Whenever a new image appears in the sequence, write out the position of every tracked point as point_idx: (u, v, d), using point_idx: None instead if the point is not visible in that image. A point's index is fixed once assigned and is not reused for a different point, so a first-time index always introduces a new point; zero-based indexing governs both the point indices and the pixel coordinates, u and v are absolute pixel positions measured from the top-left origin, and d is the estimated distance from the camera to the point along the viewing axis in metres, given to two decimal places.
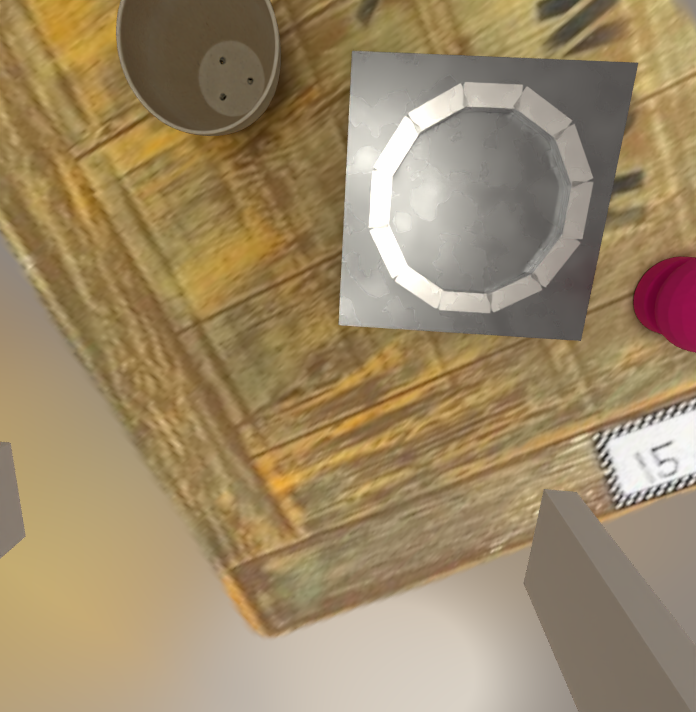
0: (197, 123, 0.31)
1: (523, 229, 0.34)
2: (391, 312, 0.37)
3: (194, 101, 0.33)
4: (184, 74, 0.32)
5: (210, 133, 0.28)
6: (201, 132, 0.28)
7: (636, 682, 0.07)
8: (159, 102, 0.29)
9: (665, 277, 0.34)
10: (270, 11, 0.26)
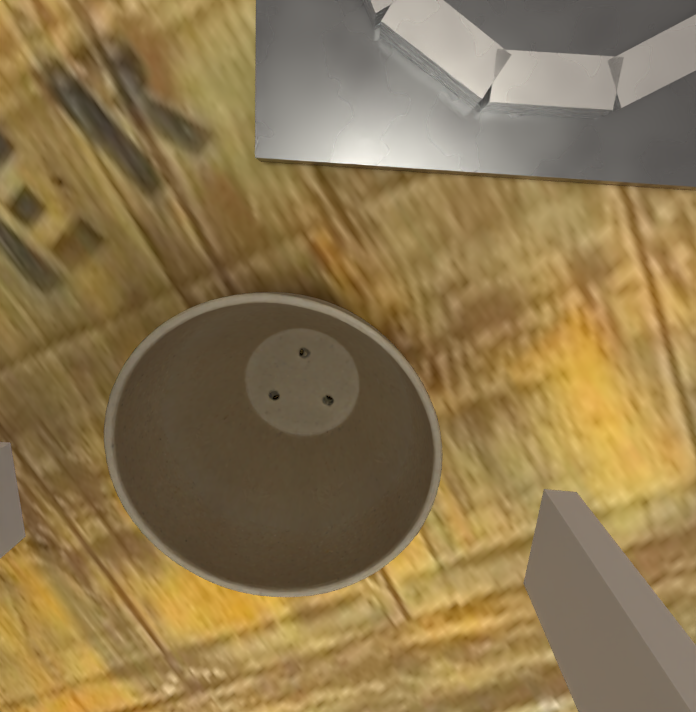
0: (386, 458, 0.17)
1: None
2: None
3: (339, 450, 0.19)
4: (298, 459, 0.19)
5: (440, 454, 0.13)
6: (438, 473, 0.13)
7: (636, 682, 0.07)
8: (359, 525, 0.16)
9: None
10: (208, 308, 0.12)
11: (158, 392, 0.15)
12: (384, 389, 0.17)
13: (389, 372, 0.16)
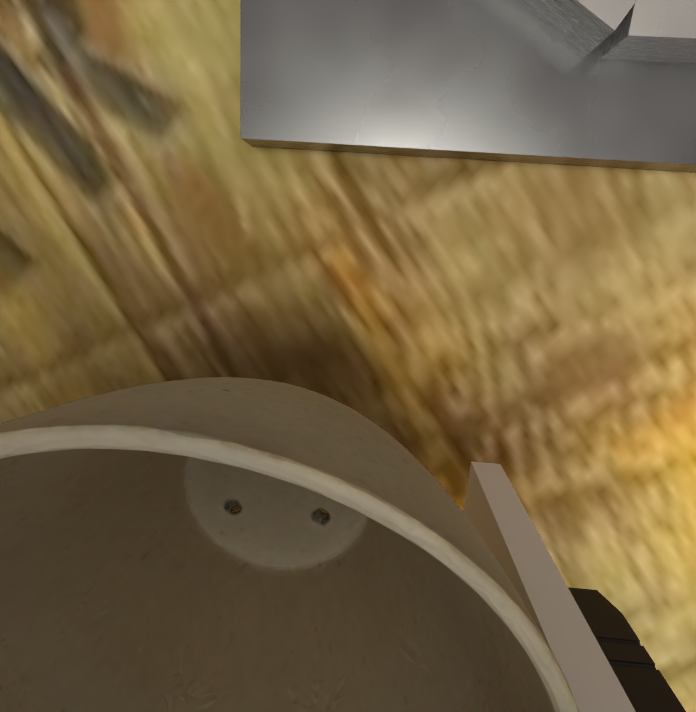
0: (423, 658, 0.09)
1: None
2: None
3: (339, 606, 0.11)
4: (271, 618, 0.12)
5: None
6: None
7: None
8: None
9: None
10: None
11: None
12: None
13: None
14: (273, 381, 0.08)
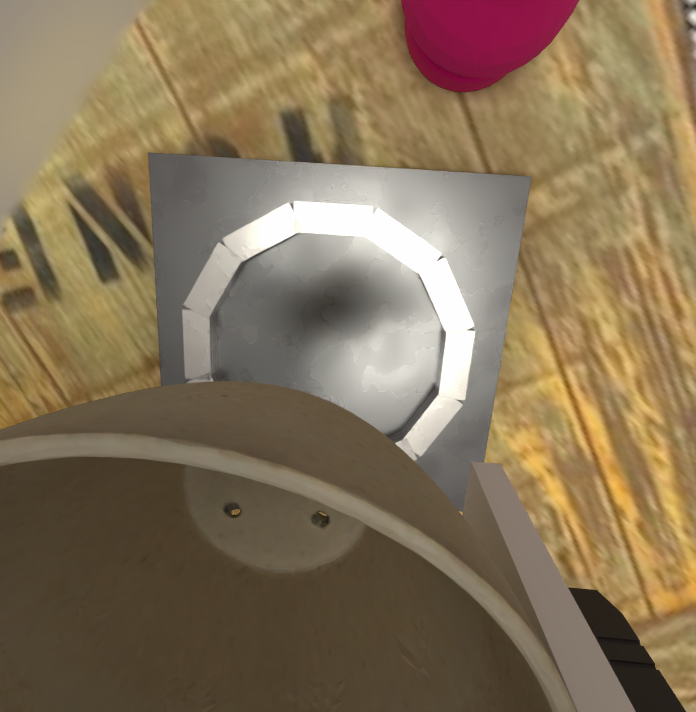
0: (423, 662, 0.09)
1: (358, 283, 0.25)
2: (463, 449, 0.27)
3: (338, 609, 0.11)
4: (270, 622, 0.11)
5: None
6: None
7: None
8: None
9: None
10: None
11: None
12: None
13: None
14: (272, 385, 0.08)
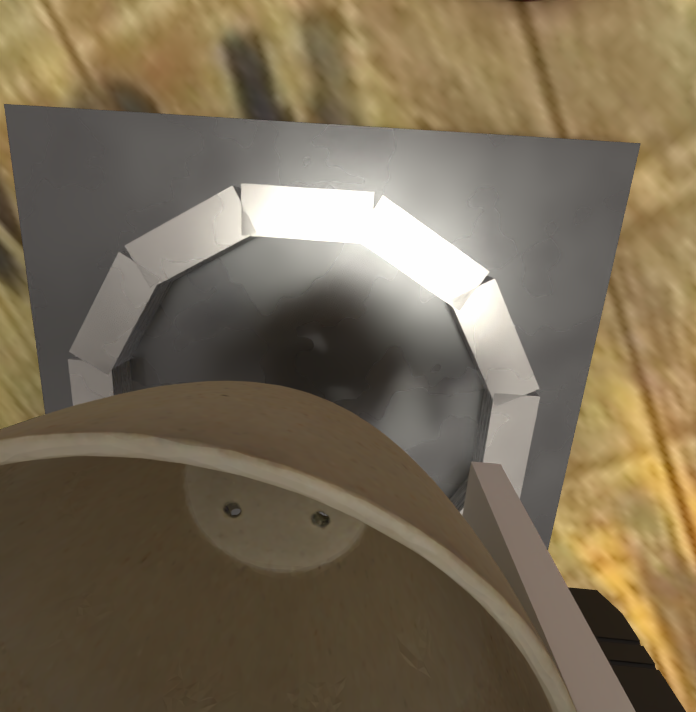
0: (423, 662, 0.09)
1: (350, 317, 0.15)
2: None
3: (338, 609, 0.11)
4: (270, 621, 0.12)
5: None
6: None
7: None
8: None
9: None
10: None
11: None
12: None
13: None
14: (272, 385, 0.08)
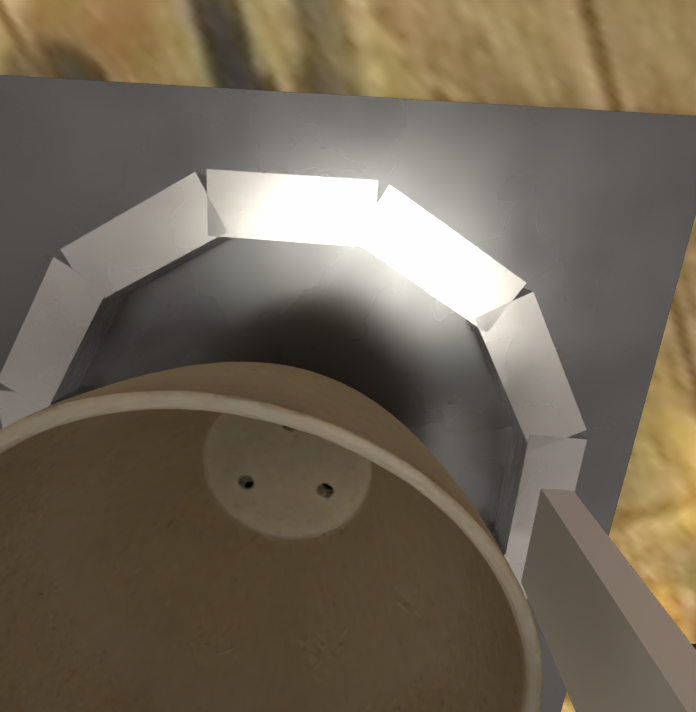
0: (416, 607, 0.10)
1: (348, 337, 0.12)
2: (540, 631, 0.15)
3: (341, 568, 0.13)
4: (281, 581, 0.13)
5: (538, 692, 0.06)
6: None
7: (631, 679, 0.07)
8: None
9: None
10: (60, 419, 0.06)
11: (29, 523, 0.09)
12: (412, 493, 0.11)
13: None
14: None
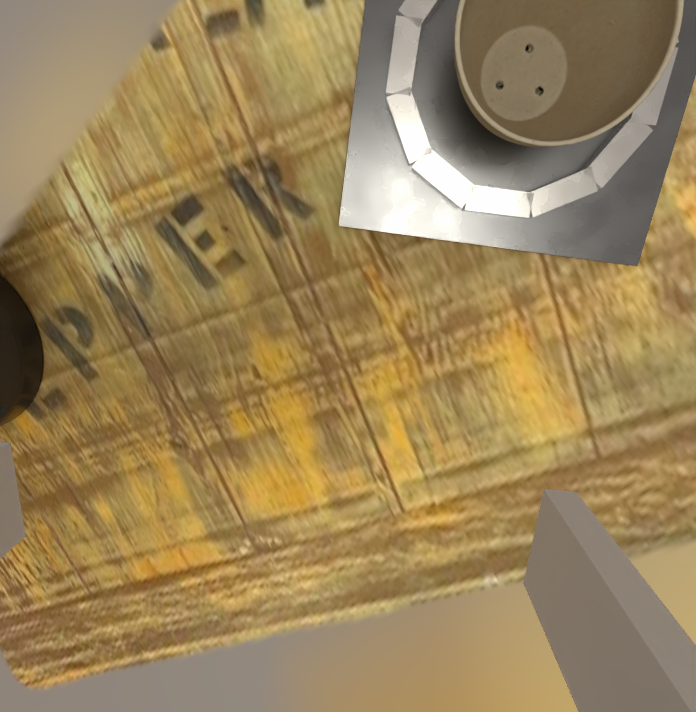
0: (602, 96, 0.24)
1: None
2: (636, 194, 0.28)
3: (549, 120, 0.26)
4: (517, 128, 0.26)
5: (680, 22, 0.20)
6: (676, 36, 0.20)
7: (636, 682, 0.07)
8: (588, 126, 0.23)
9: None
10: None
11: (469, 10, 0.22)
12: (600, 54, 0.24)
13: (616, 23, 0.23)
14: None
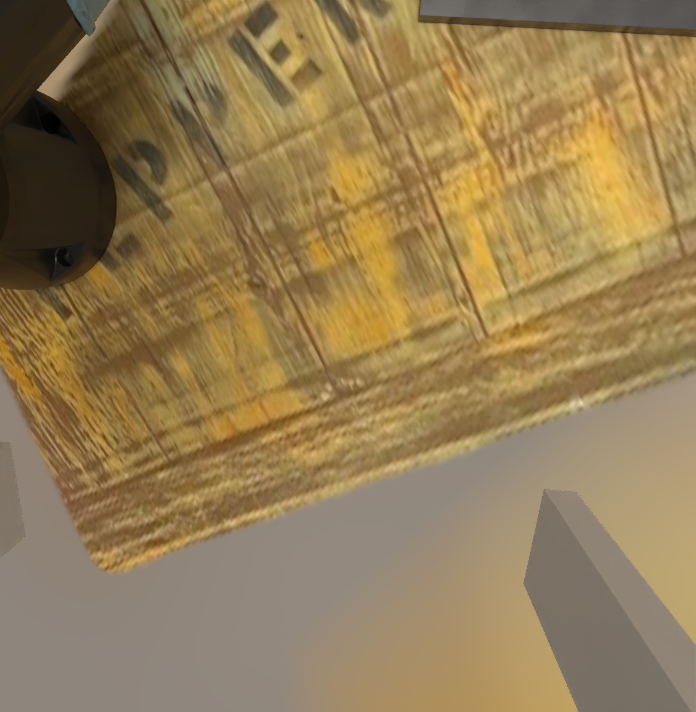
0: None
1: None
2: None
3: None
4: None
5: None
6: None
7: (636, 682, 0.07)
8: None
9: None
10: None
11: None
12: None
13: None
14: None
